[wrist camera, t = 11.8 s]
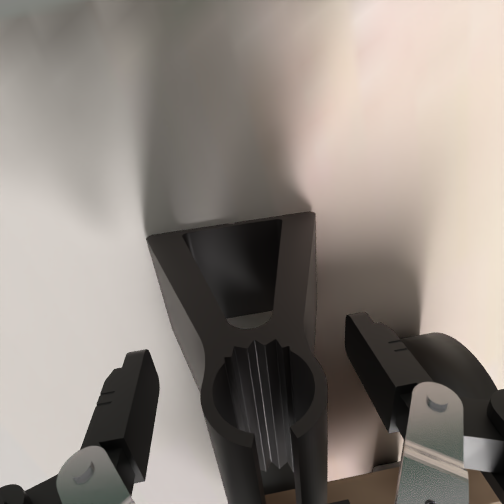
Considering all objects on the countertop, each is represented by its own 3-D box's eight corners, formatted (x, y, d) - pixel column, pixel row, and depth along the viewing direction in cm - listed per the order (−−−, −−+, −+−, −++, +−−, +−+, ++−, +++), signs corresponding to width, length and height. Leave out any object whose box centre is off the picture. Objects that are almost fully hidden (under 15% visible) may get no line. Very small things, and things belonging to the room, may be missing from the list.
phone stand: (171, 323, 19) (129, 606, 9) (147, 234, 17) (38, 487, 6) (314, 300, 20) (439, 537, 9) (313, 210, 17) (489, 400, 6)
